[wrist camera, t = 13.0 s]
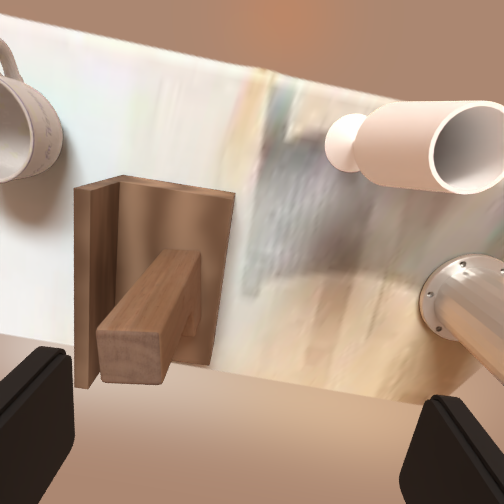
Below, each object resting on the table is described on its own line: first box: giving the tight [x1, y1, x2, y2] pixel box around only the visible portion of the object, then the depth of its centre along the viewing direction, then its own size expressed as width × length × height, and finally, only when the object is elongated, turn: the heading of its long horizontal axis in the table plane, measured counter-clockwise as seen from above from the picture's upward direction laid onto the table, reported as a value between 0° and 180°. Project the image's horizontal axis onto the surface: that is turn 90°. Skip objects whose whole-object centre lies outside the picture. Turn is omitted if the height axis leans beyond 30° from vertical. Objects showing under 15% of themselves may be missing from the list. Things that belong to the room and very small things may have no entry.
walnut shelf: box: [74, 175, 235, 389], centre depth 40 cm, size 14×22×12 cm, turn 171°
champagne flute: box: [325, 101, 504, 194], centre depth 30 cm, size 7×7×24 cm
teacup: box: [0, 38, 63, 183], centre depth 37 cm, size 14×11×8 cm
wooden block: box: [96, 249, 201, 385], centre depth 33 cm, size 9×4×18 cm, turn 178°
